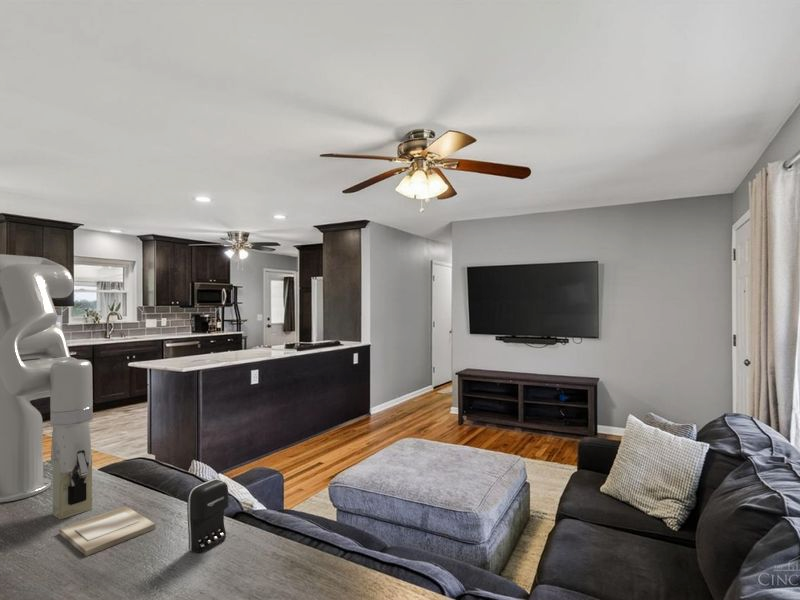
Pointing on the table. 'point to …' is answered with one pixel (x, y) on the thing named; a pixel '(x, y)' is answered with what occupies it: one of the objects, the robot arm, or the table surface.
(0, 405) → the robot arm
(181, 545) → the table surface
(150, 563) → the table surface
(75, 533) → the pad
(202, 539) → the battery charger
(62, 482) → the skincare box
